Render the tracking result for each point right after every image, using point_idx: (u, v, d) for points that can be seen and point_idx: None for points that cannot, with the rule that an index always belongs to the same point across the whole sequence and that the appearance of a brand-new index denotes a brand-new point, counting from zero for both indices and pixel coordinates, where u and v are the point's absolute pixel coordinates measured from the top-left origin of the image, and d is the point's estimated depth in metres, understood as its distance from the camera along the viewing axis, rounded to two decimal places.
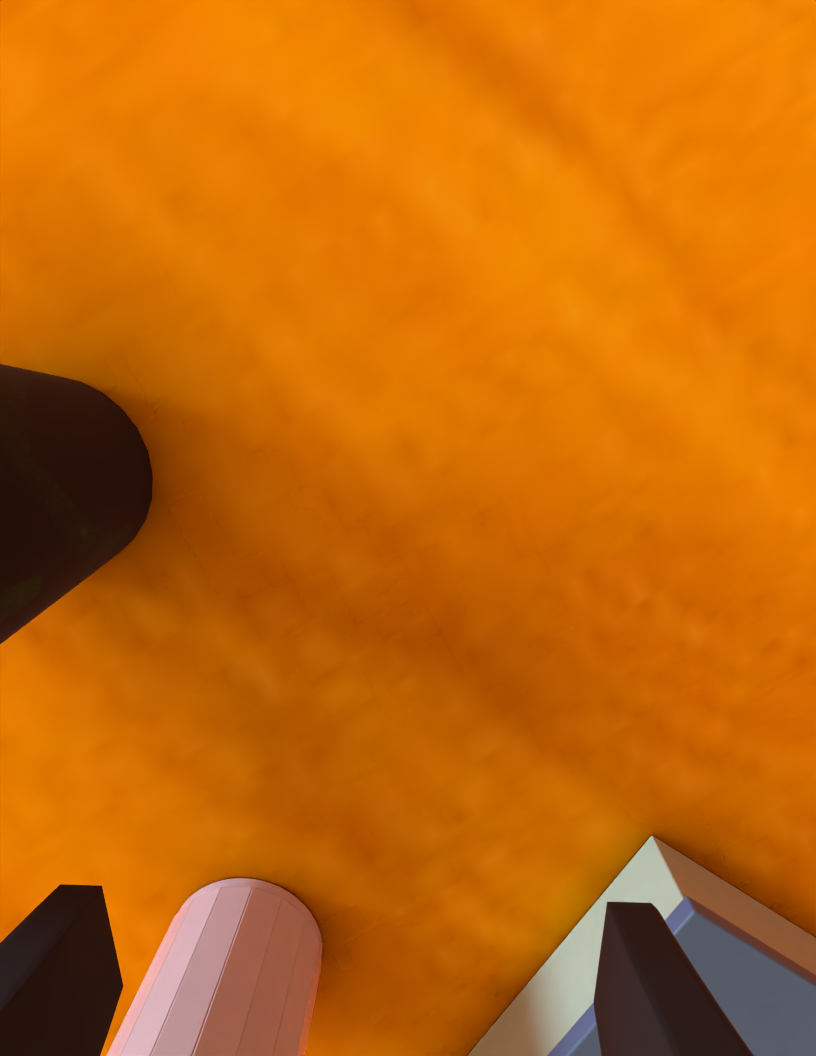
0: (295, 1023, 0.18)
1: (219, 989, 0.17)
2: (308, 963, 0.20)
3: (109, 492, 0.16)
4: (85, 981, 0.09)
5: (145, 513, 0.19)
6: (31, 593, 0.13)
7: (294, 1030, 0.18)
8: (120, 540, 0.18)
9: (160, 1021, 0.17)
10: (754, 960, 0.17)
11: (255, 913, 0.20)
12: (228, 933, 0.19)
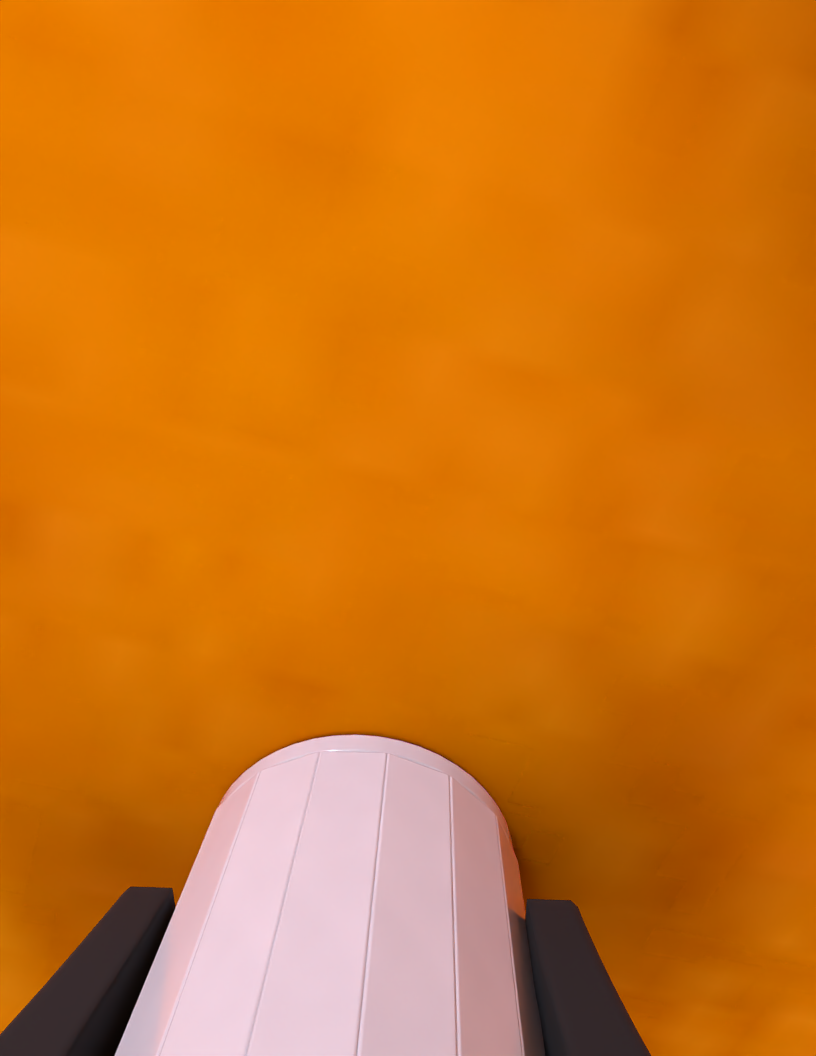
0: None
1: None
2: None
3: None
4: None
5: None
6: None
7: None
8: None
9: None
10: None
11: (511, 884, 0.09)
12: (496, 916, 0.08)
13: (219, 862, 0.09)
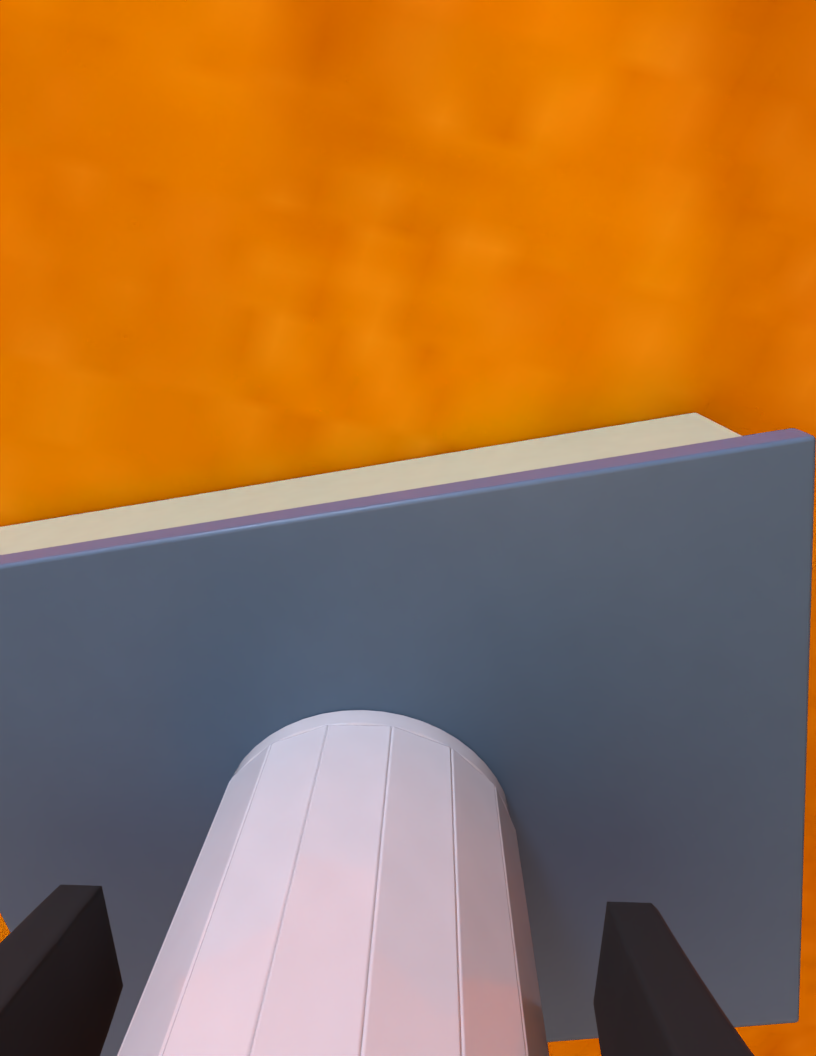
0: None
1: (524, 1030, 0.07)
2: None
3: None
4: (85, 981, 0.09)
5: None
6: None
7: None
8: None
9: None
10: (791, 584, 0.10)
11: (509, 848, 0.10)
12: (495, 874, 0.09)
13: (234, 825, 0.09)
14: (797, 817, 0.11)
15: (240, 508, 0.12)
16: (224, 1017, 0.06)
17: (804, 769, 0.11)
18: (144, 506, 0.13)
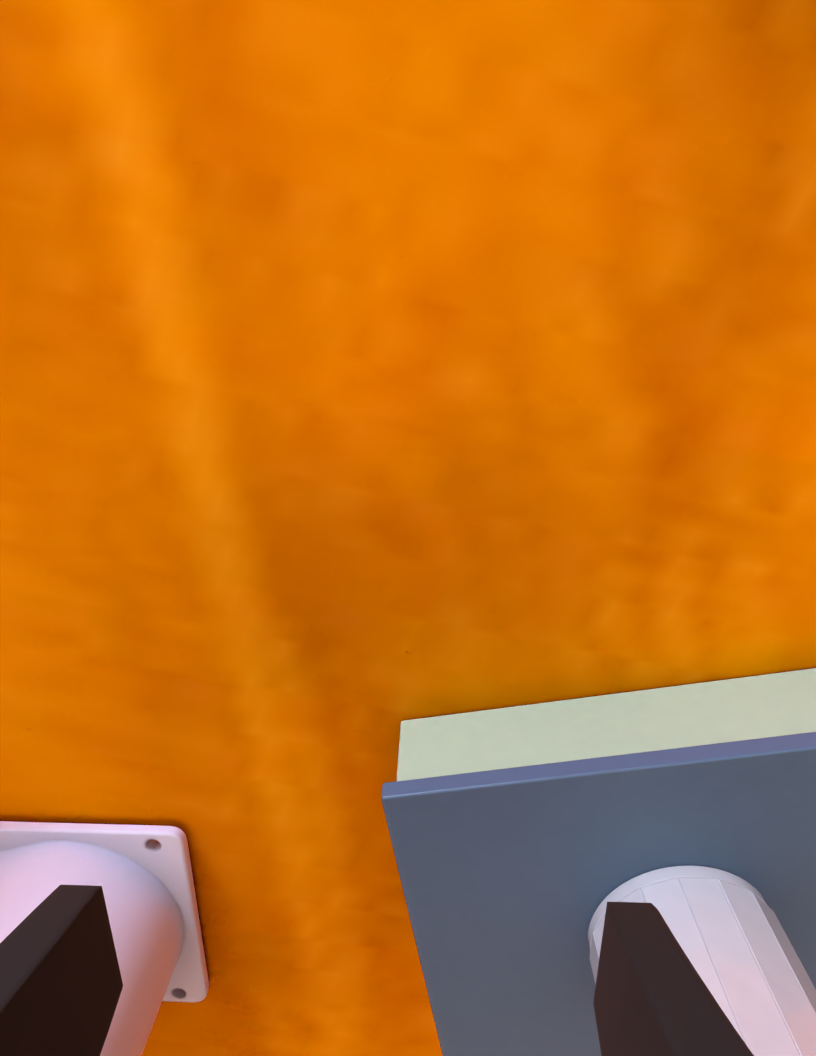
0: None
1: None
2: None
3: None
4: (85, 981, 0.09)
5: None
6: None
7: None
8: None
9: None
10: None
11: None
12: (805, 976, 0.16)
13: None
14: None
15: (596, 729, 0.19)
16: None
17: None
18: (508, 712, 0.20)
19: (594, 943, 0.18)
